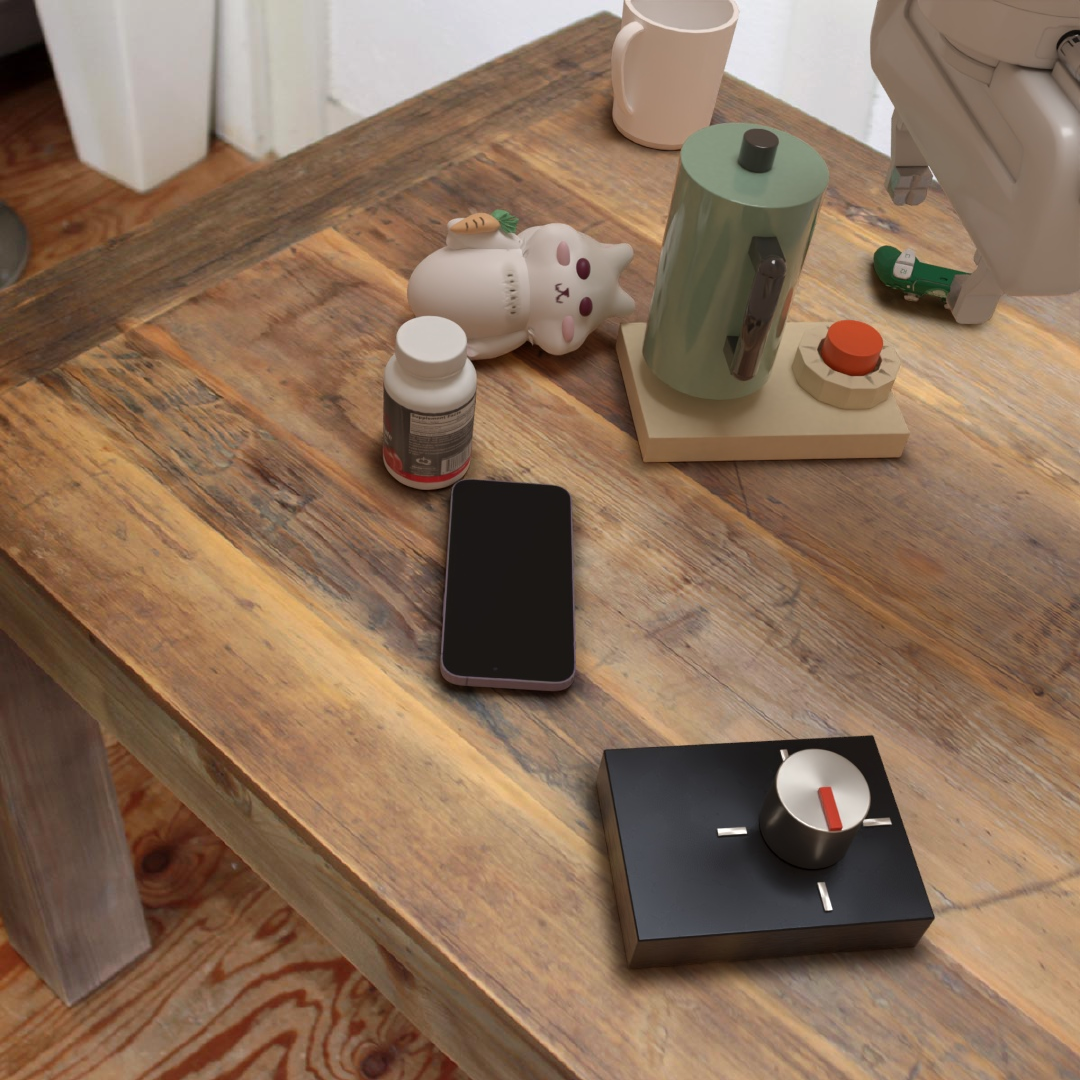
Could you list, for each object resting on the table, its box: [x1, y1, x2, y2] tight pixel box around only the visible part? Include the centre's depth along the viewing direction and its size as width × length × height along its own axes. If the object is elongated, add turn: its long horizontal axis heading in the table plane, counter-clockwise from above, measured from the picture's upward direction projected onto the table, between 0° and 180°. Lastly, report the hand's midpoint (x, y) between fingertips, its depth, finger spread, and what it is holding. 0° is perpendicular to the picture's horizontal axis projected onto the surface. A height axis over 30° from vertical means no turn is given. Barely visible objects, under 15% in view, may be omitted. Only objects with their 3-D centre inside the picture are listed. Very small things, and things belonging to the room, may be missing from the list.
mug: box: [610, 0, 741, 151], centre depth 106 cm, size 11×9×10 cm
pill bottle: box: [382, 316, 478, 491], centre depth 78 cm, size 5×5×10 cm
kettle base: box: [615, 321, 911, 463], centre depth 87 cm, size 17×11×4 cm, turn 97°
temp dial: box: [759, 749, 871, 869], centre depth 62 cm, size 4×4×4 cm
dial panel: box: [595, 734, 936, 970], centre depth 64 cm, size 14×10×3 cm
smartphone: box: [439, 478, 577, 692], centre depth 75 cm, size 7×1×15 cm
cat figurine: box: [406, 209, 637, 361], centre depth 88 cm, size 10×8×15 cm
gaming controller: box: [872, 244, 973, 311], centre depth 97 cm, size 9×4×6 cm
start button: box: [821, 319, 883, 376], centre depth 86 cm, size 4×4×2 cm
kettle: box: [642, 122, 830, 400], centre depth 79 cm, size 8×14×16 cm, turn 7°
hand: (932, 253), depth 66 cm, fingers open, 8 cm apart
